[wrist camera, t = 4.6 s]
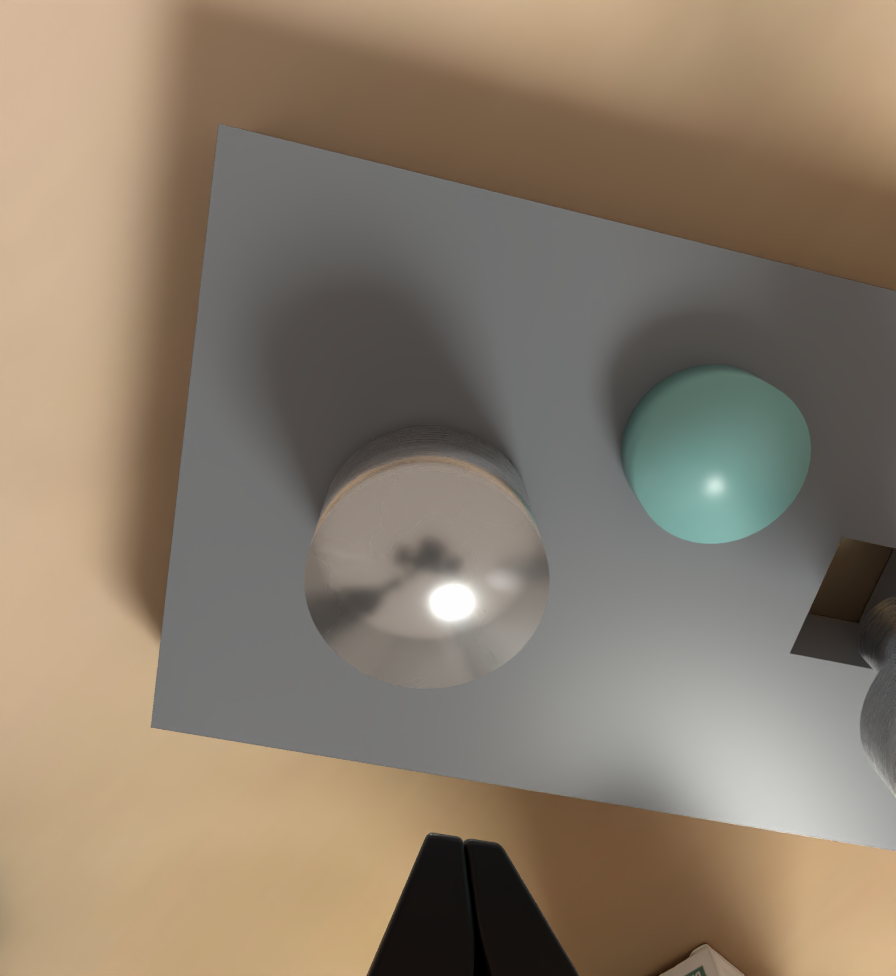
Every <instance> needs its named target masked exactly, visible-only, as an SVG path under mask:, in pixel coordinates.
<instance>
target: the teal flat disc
mask: <svg viewBox="0 0 896 976" xmlns="http://www.w3.org/2000/svg"><path fill="white" fill-rule="evenodd" d="M810 457H811V442H810V435H809V430H808V427H807V424H806V422H805V419H804V417H803V415H802V414H801V412H800V410H799V409H798V407H797V406H796V405H795V404H794V402H793V401H792V400H791V399H790V398H789V397H787V396H786V395H785V394H784V393H783V392H781V391H780V390H778V389H777V388H775V387H773V386H772V385H770V384H768V383H767V382H765V381H763V380H762V379H760V378H758V377H757V376H755V375H753V374H752V373H750V372H747V371H745V370H743V369H740V368H737V367H734V366H728V365H721V364H709V365H699V366H695V367H691V368H687V369H684V370H682V371H679V372H677V373H675V374H673V375H671V376H669V377H667V378H665V379H664V380H662V381H661V382H659V383H658V384H657V385H656V386H654V387H653V388H652V389H651V390H650V391H649V392H648V393H647V394H646V395H645V396H644V397H643V398H642V399H641V400H640V402H639V403H638V405H637V406H636V407H635V409H634V410H633V412H632V414H631V416H630V418H629V420H628V422H627V425H626V427H625V431H624V435H623V438H622V447H621V460H622V466H623V471H624V474H625V477H626V480H627V482H628V484H629V486H630V488H631V489H632V491H633V492H634V494H635V495H636V497H637V498H638V500H639V501H640V503H641V504H642V506H643V507H644V509H645V510H646V512H647V513H648V515H649V516H650V517H651V518H652V519H653V521H654V522H655V523H656V524H657V525H659V526H660V527H661V528H662V529H664V530H665V531H667V532H668V533H670V534H672V535H674V536H676V537H678V538H681V539H683V540H687V541H691V542H696V543H703V544H717V543H726V542H731V541H735V540H739V539H742V538H745V537H748V536H750V535H752V534H754V533H756V532H758V531H760V530H761V529H763V528H765V527H766V526H768V525H769V524H771V523H772V522H773V521H775V520H776V519H777V518H778V517H779V516H780V515H781V514H782V513H783V512H784V511H785V510H786V509H787V508H788V507H789V506H790V504H791V503H792V502H793V501H794V499H795V498H796V496H797V495H798V493H799V491H800V489H801V487H802V485H803V483H804V481H805V478H806V475H807V472H808V469H809V464H810Z"/></svg>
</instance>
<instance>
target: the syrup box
mask: <svg viewBox="0 0 896 976" xmlns="http://www.w3.org/2000/svg"><path fill="white" fill-rule="evenodd" d="M659 976H745V975H744V974H743V973H742V972H740V971H739V970H738V969H737V968H736V967H734V966H733V965H732V964H731V963H729V962H728V961H727V960H726V959H725V958H723V957H722V956H721V955H720V954H719V953H717V952H716V951H715V950H713V949H712V948H711V947H710V946H709V945H707V944H704V945H701V946H700V947H698V948H696V949H695V950H693V951H692V953H691V954H690V957H688V958H687V959H686V960H684V961H683V962H681V963H679V964H678V965H676V966H675V967H673V968H672V969H670V970H668V971H666V972H664V973H662V974H661V975H659Z"/></svg>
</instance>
